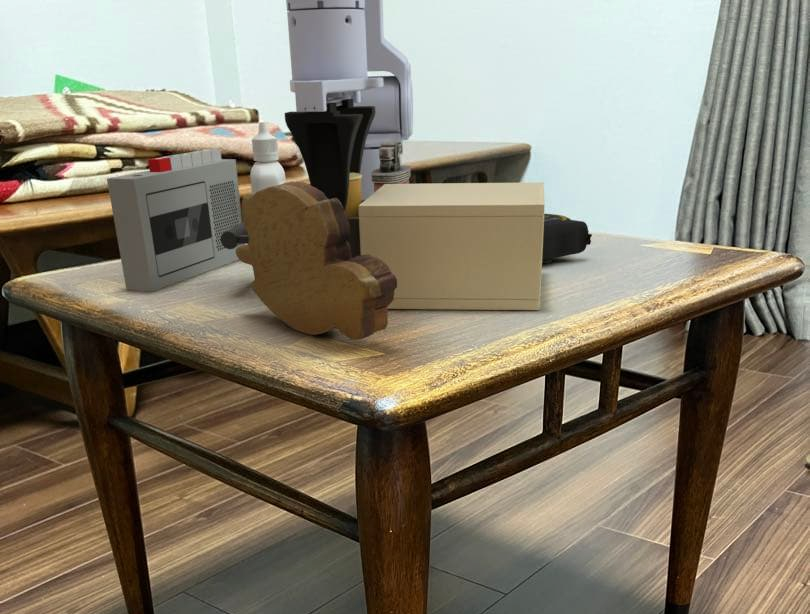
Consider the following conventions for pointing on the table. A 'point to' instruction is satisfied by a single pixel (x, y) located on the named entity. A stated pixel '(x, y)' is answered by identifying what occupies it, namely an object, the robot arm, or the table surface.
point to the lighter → (390, 166)
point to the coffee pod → (354, 195)
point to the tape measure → (563, 237)
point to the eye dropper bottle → (265, 161)
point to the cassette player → (175, 218)
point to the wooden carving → (312, 263)
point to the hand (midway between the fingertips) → (337, 207)
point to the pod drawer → (240, 236)
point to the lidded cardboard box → (458, 243)
